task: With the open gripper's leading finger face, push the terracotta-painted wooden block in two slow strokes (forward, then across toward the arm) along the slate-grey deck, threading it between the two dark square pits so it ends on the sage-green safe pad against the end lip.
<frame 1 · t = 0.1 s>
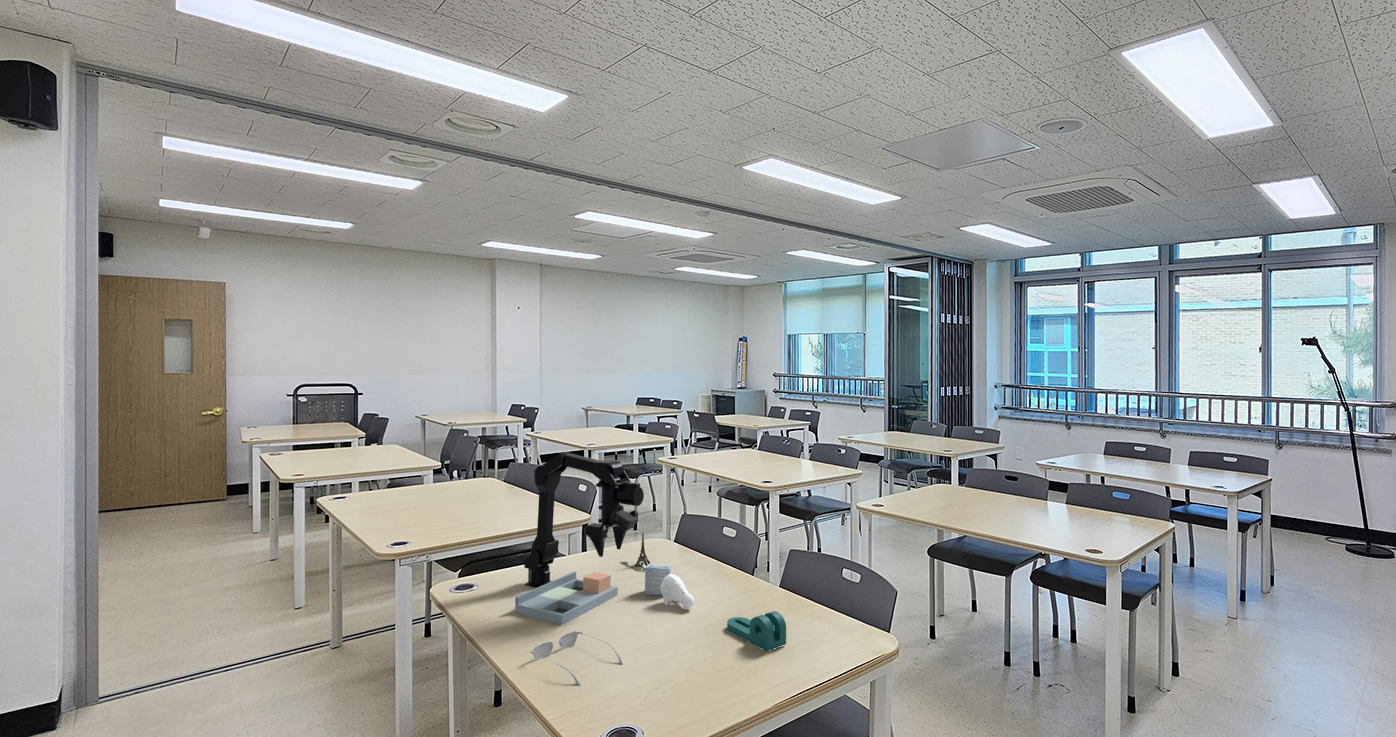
hand: (609, 552, 193), 15 cm above the table, fingers open, 9 cm apart
eiffel tower figurine: (641, 567, 228), on the table
bracket: (753, 638, 169), on the table
eyeglasses: (578, 665, 152), on the table
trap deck: (568, 603, 190), on the table
white animal figurine: (678, 606, 189), on the table
block: (596, 588, 196), point 2 cm above the table, touching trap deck
medicine box: (658, 593, 200), on the table
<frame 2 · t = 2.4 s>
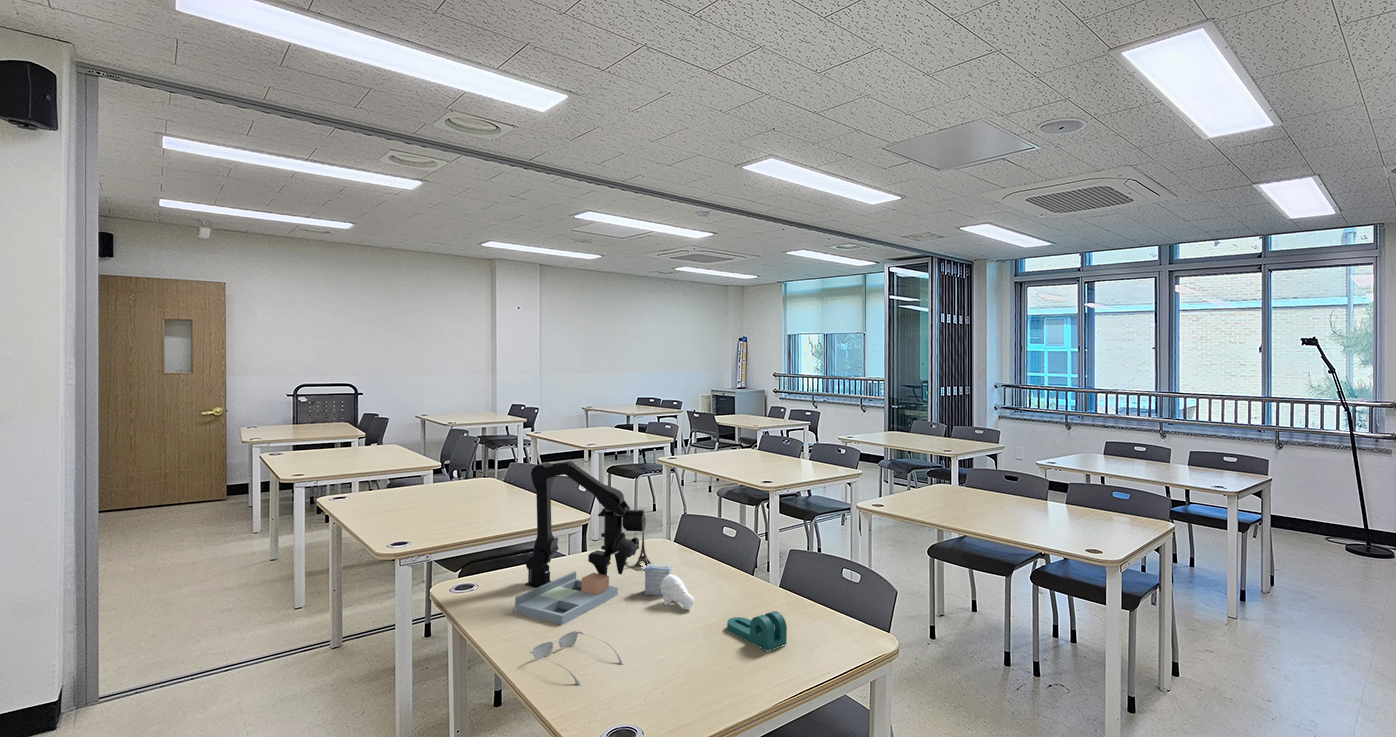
hand: (612, 578, 203), 3 cm above the table, fingers open, 9 cm apart
block: (595, 589, 195), point 3 cm above the table, touching gripper
everything else where it was.
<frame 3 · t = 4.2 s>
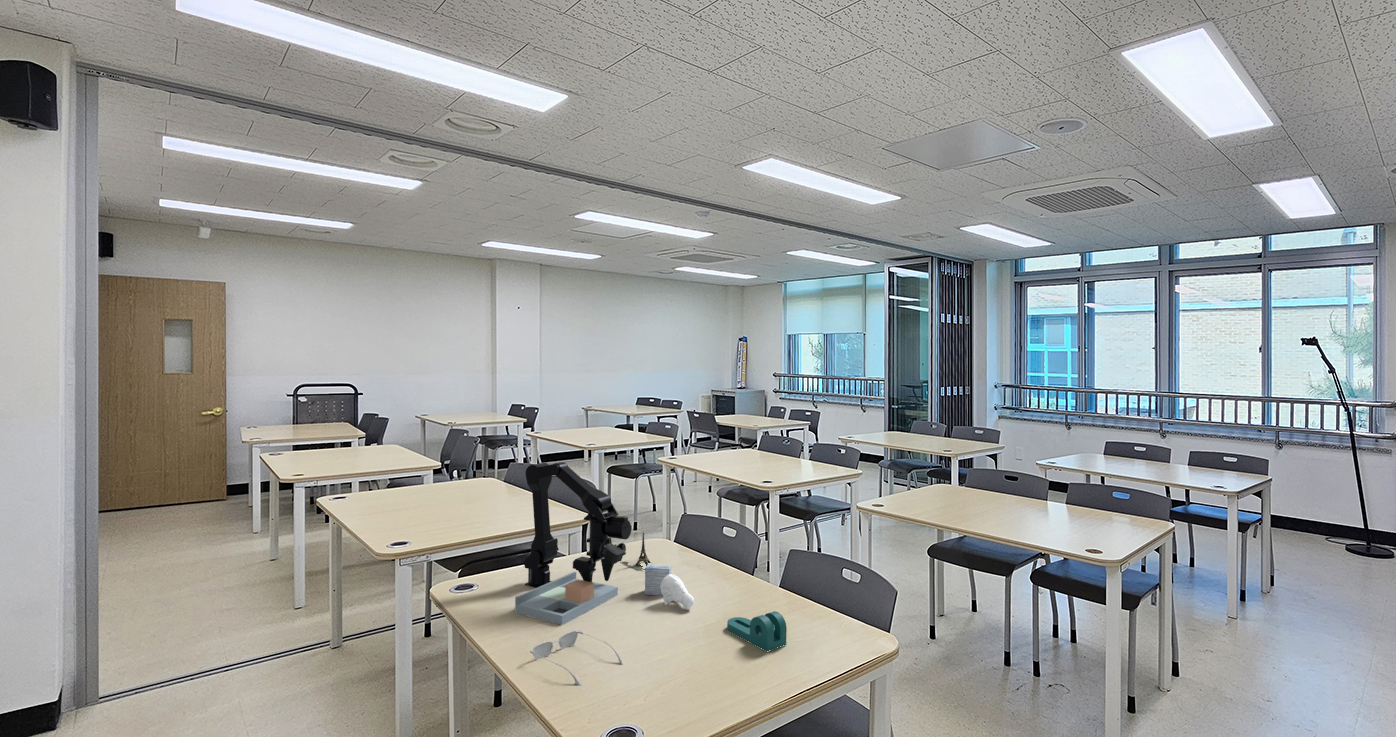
hand: (598, 585, 196), 4 cm above the table, fingers open, 9 cm apart
block: (579, 597, 188), point 2 cm above the table, touching gripper, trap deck
everything else where it was.
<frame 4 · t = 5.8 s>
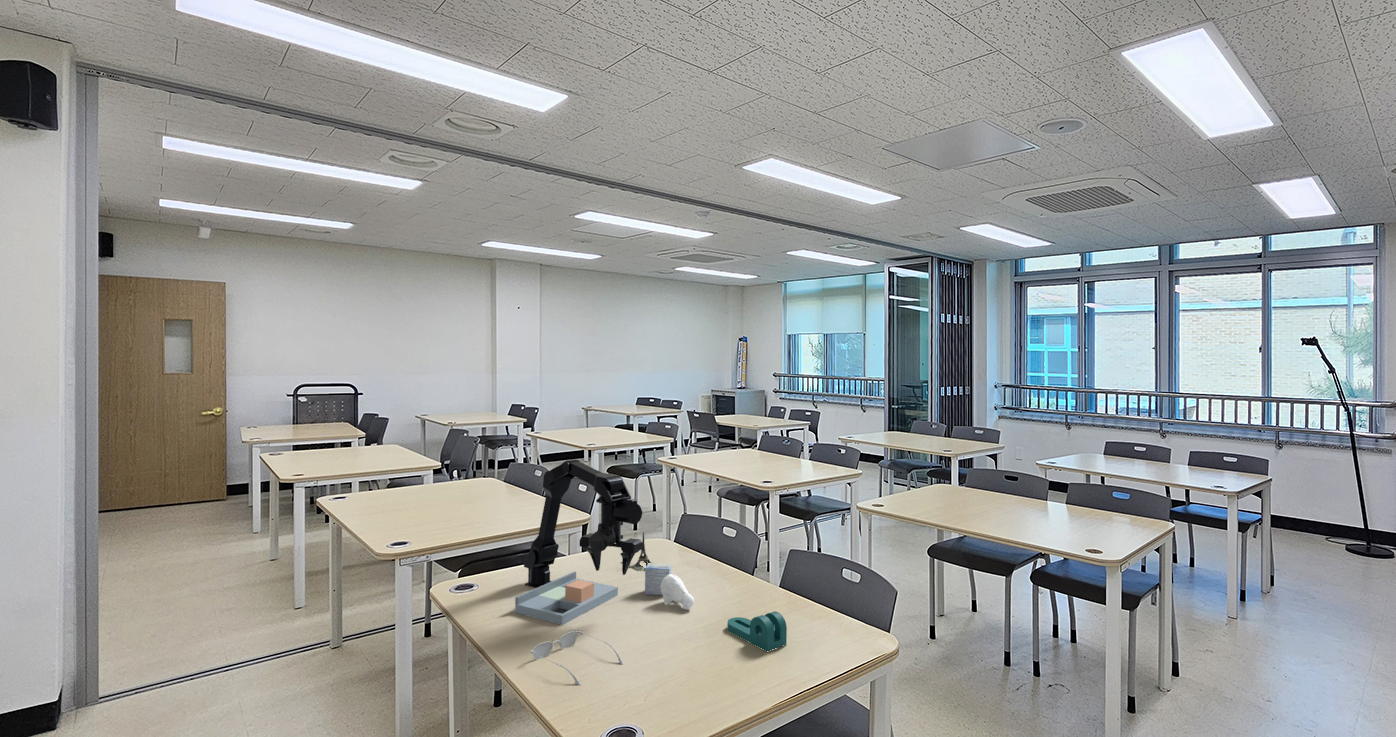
hand: (610, 572, 184), 12 cm above the table, fingers open, 9 cm apart
block: (579, 597, 188), point 2 cm above the table, touching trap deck
everything else where it was.
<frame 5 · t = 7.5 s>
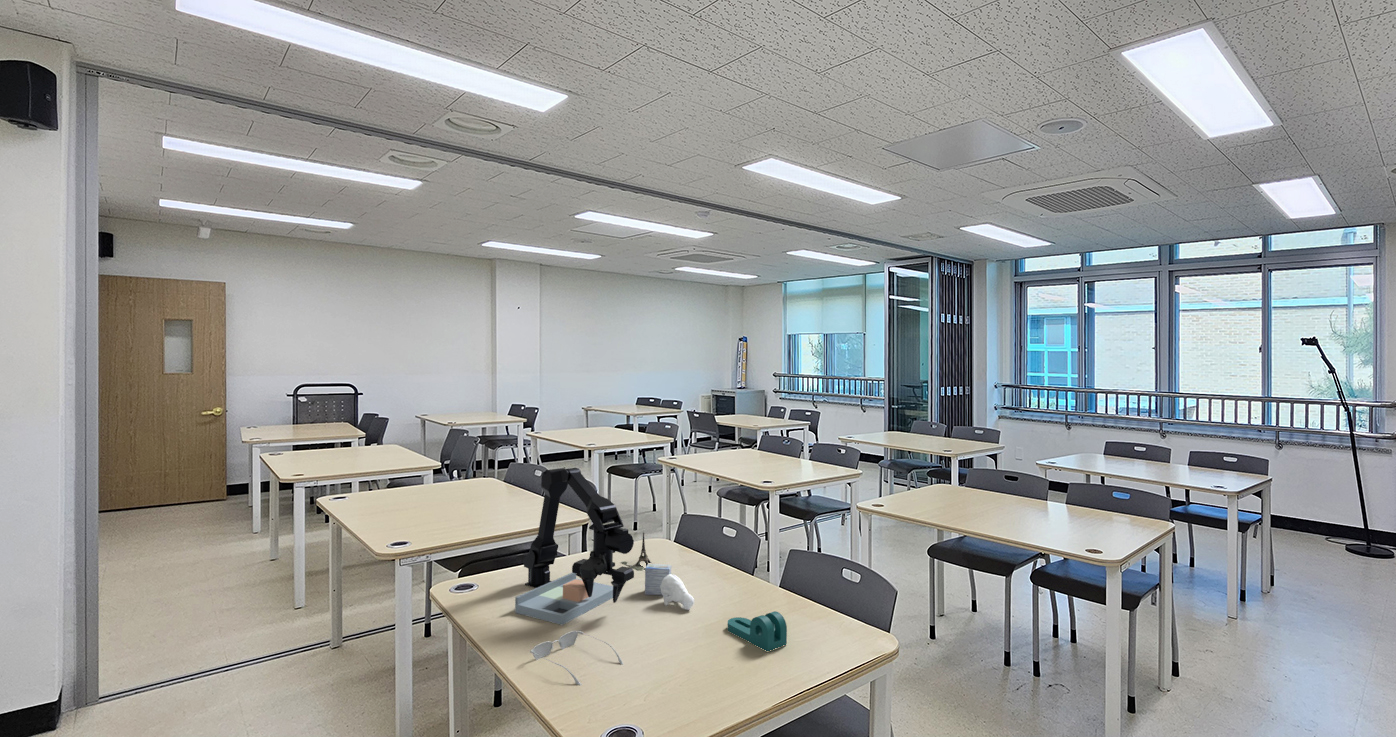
hand: (602, 599, 184), 3 cm above the table, fingers open, 9 cm apart
block: (577, 596, 189), point 3 cm above the table, touching gripper
everything else where it was.
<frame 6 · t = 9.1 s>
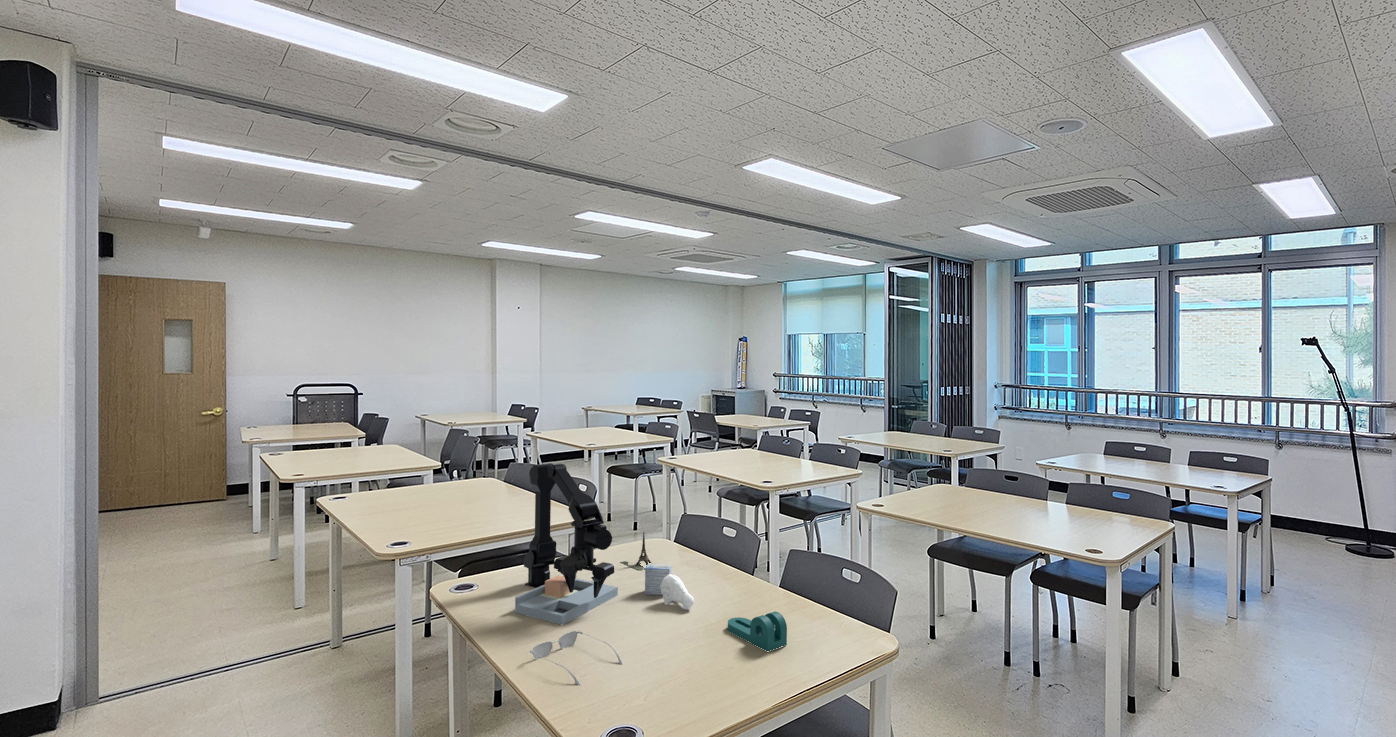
hand: (583, 594, 188), 4 cm above the table, fingers open, 9 cm apart
block: (558, 592, 192), point 2 cm above the table, touching gripper, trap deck
everything else where it was.
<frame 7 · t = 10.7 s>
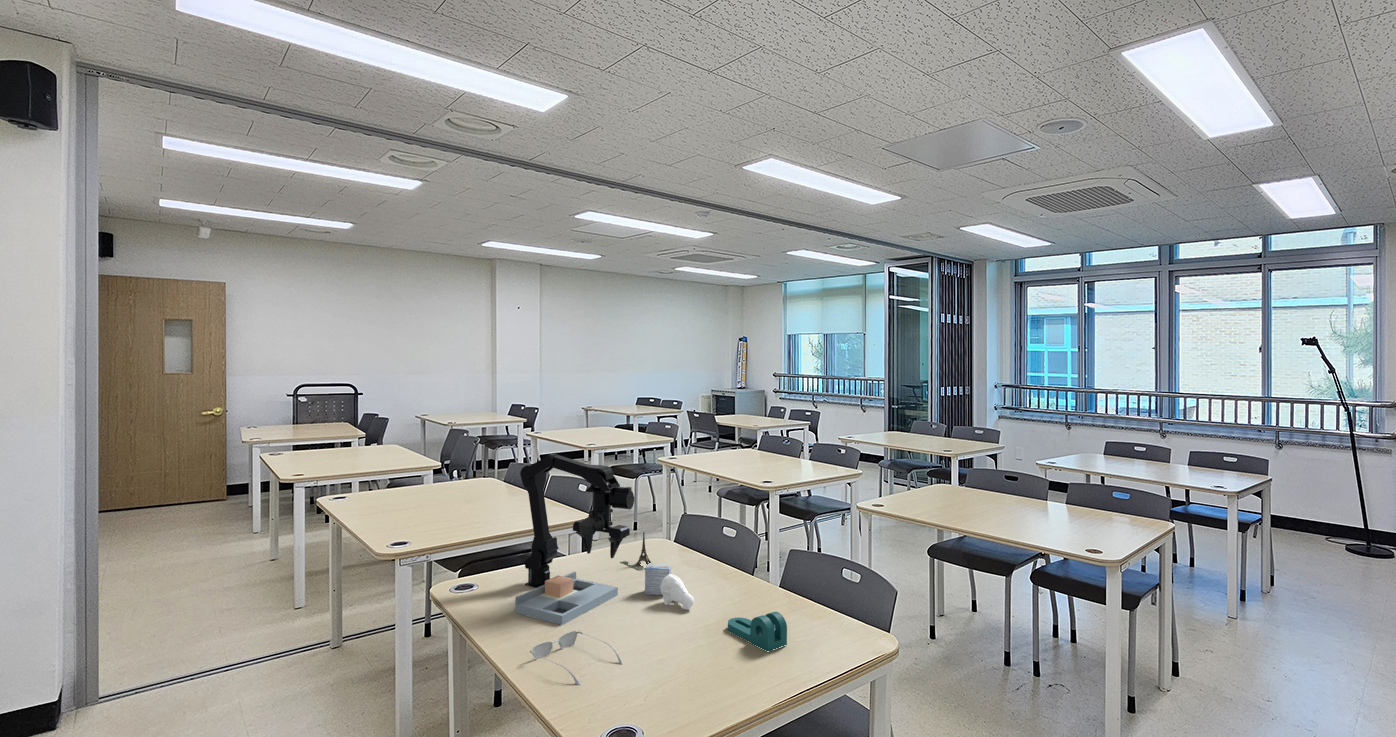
hand: (600, 555, 199), 12 cm above the table, fingers open, 9 cm apart
block: (558, 592, 192), point 2 cm above the table, touching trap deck
everything else where it was.
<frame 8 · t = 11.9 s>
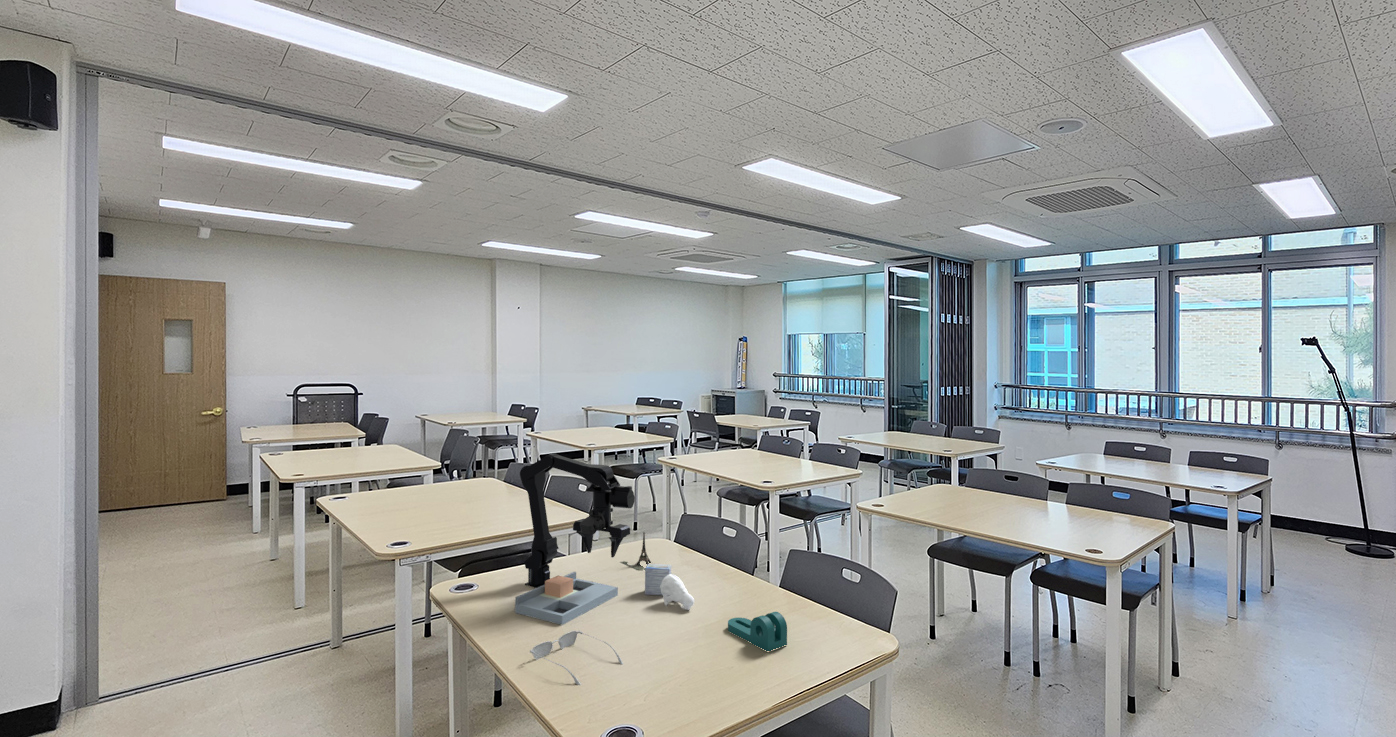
hand: (600, 555, 199), 12 cm above the table, fingers open, 9 cm apart
nothing on the table moved.
at the end: block inside the target area (0.6 cm from its centre), point 2.5 cm above the table; block tilted 0° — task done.
